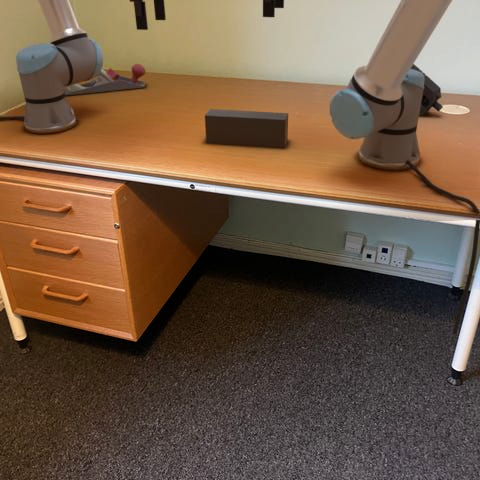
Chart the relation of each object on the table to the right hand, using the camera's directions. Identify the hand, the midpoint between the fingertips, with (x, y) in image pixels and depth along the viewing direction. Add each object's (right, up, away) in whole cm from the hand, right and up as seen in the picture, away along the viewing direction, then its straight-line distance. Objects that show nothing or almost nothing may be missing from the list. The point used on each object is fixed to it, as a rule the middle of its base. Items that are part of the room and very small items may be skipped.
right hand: (273, 12), depth 132 cm
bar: (-6, -29, +19) cm, 35 cm away
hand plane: (-59, 0, +66) cm, 88 cm away
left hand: (-32, 0, +9) cm, 33 cm away
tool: (+46, -15, +39) cm, 62 cm away
